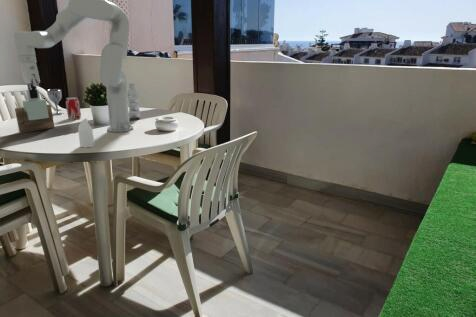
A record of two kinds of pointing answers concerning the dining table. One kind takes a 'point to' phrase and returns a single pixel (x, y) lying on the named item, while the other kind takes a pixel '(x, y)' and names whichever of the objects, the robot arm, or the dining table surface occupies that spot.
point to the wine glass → (55, 98)
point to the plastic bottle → (133, 102)
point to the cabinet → (35, 107)
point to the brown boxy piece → (33, 121)
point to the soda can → (73, 108)
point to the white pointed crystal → (85, 134)
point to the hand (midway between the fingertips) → (33, 97)
